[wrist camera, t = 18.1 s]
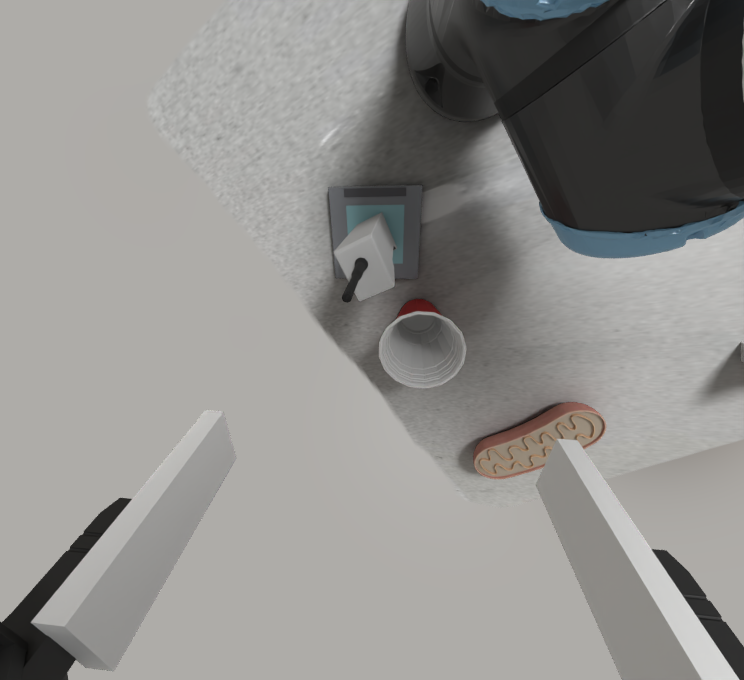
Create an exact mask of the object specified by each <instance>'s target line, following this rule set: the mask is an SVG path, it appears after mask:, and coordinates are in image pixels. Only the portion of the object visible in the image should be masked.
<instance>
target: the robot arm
mask: <svg viewBox="0 0 744 680" xmlns="http://www.w3.org/2000/svg"><path fill="white" fill-rule="evenodd" d="M406 55H407V62H408V67H409V71H410V74H411V77H412V80H413V82H414V85H415V87H416V89H417V91H418V92H419V94H420V95H421V97H422V98H423V100H424V101H425V102H426V103H427V104H428V105H429V106H430V107H431V108H432V109H433V110H434V111H436V112H437V113H439V114H440V115H442V116H444V117H446V118H449V119H452V120H455V121H462V122H471V121H478V120H482V119H486V118H489V117H491V116H493V115H495V114H497V113H499V115H500V117H501V120H502V123H503V125H504V127H505V129H506V131H507V133H508V136H509V138H510V140H511V142H512V144H513V146H514V148H515V150H516V152H517V154H518V157H519V159H520V161H521V163H522V165H523V167H524V169H525V171H526V173H527V175H528V178H529V180H530V182H531V184H532V186H533V188H534V190H535V192H536V194H537V196H538V198H539V201H540V202H539V206H540V210H541V212H542V214H543V216H544V217H545V218H546V219H547V221H548V222H549V223H551V225H552V227H553V229H554V230H555V232H556V234H557V236H558V238H559V239H560V241H561V242H562V243H563V244H564V245H565V246H566V247H568V248H569V249H571V250H572V251H574V252H576V253H579V254H582V255H586V256H590V257H597V258H631V257H639V256H646V255H652V254H656V253H661V252H665V251H669V250H673V249H676V248H680V247H683V246H684V245H685V244H686V240H688V239H694V238H697V239H706V238H708V237H710V236H712V235H715V234H717V233H719V232H721V231H723V230H725V229H727V228H729V227H730V226H732V225H734V224H735V223H737V222H738V221H740V220H741V219H742V218H744V0H410V2H409V6H408V13H407V21H406ZM235 460H236V456H235V452H234V448H233V444H232V441H231V437H230V433H229V429H228V426H227V422H226V418H225V414H224V412H222V411H210V410H205V411H204V413H203V414H202V415H201V416H200V417H199V419H198V420H197V421H196V422H195V423H194V425H193V426H192V427H191V428H190V430H189V431H188V432H187V433H186V434H185V436H184V437H183V438H182V440H180V442H179V443H178V444H177V445H176V447H175V448H174V449H173V450H172V451H171V453H170V454H169V455H168V456H167V457H166V459H165V460H164V461H163V462H162V464H161V465H160V466H159V467H158V469H157V470H156V471H155V472H154V473H153V475H152V476H151V477H150V478H149V479H148V481H147V482H146V483H145V484H144V485H143V487H142V488H141V489H140V490H139V492H138V493H137V494H136V495H135V496H134V498H133V499H127V498H119V499H118V500H117V501H115V502H114V503H113V504H111V505H110V506H109V507H108V508H106V509H105V510H103V511H102V512H101V513H100V514H99V515H98V516H97V517H96V518H95V519H94V520H93V522H92V523H91V524H90V525H89V526H88V527H87V528H86V529H85V531H84V533H83V535H80V536H79V538H78V539H77V540H76V541H75V542H74V543H73V544H72V545H71V546H70V550H68V551H66V552H65V553H64V554H63V555H62V557H61V558H60V559H59V560H58V561H57V562H56V563H55V565H54V566H53V567H52V568H51V569H50V570H49V571H48V573H47V574H46V575H45V576H44V577H43V578H42V579H41V580H40V581H39V583H38V584H37V585H36V586H35V587H34V588H33V589H32V591H31V592H30V593H29V594H28V595H27V596H26V597H25V598H24V600H23V601H22V602H21V603H20V604H19V605H18V606H17V607H16V609H15V610H14V611H13V612H12V613H11V614H10V615H9V616H8V617H7V618H6V619H5V620H4V621H3V622H2V623H1V622H0V680H68V675H67V672H68V670H69V669H70V667H71V666H72V664H73V663H74V661H75V660H77V661H78V662H79V663H81V664H82V665H83V666H84V667H85V668H92V669H100V670H107V671H114V670H115V669H116V667H117V665H118V663H119V662H120V660H121V658H122V656H123V655H124V653H125V651H126V650H127V648H128V646H129V644H130V643H131V641H132V639H133V637H134V636H135V634H136V632H137V630H138V629H139V626H140V625H141V623H142V622H143V620H144V618H145V616H146V614H147V613H148V611H149V609H150V608H151V606H152V604H153V602H154V601H155V599H156V597H157V595H158V594H159V592H160V590H161V589H162V587H163V585H164V583H165V582H166V580H167V578H168V576H169V575H170V573H171V571H172V569H173V568H174V566H175V564H176V562H177V561H178V559H179V557H180V555H181V554H182V552H183V550H184V548H185V547H186V545H187V543H188V542H189V540H190V538H191V536H192V535H193V533H194V531H195V529H196V527H197V526H198V524H199V522H200V521H201V519H202V517H203V515H204V514H205V512H206V510H207V508H208V507H209V505H210V503H211V501H212V500H213V498H214V496H215V494H216V493H217V491H218V489H219V488H220V486H221V484H222V482H223V481H224V479H225V477H226V475H227V474H228V472H229V470H230V468H231V467H232V465H233V463H234V461H235ZM536 487H537V489H538V491H539V494H540V496H541V498H542V500H543V503H544V505H545V507H546V510H547V512H548V514H549V516H550V518H551V521H552V523H553V525H554V528H555V530H556V532H557V534H558V537H559V539H560V541H561V543H562V546H563V548H564V550H565V552H566V555H567V557H568V559H569V561H570V563H571V566H572V568H573V570H574V573H575V575H576V577H577V580H578V582H579V584H580V586H581V589H582V591H583V593H584V595H585V597H586V600H587V602H588V604H589V607H590V609H591V611H592V613H593V616H594V618H595V620H596V622H597V624H598V627H599V629H600V631H601V634H602V636H603V638H604V641H605V643H606V645H607V647H608V650H609V652H610V654H611V656H612V659H613V661H614V663H615V665H616V667H617V670H618V672H619V674H620V676H621V679H622V680H744V647H743V645H742V644H741V643H740V641H739V640H738V638H737V637H736V636H735V634H734V633H733V632H732V630H731V629H730V628H729V626H728V625H727V624H726V622H723V621H722V619H721V615H720V614H719V613H718V611H717V610H716V608H715V607H714V606H713V604H712V603H711V602H710V601H708V600H707V598H706V595H705V593H704V592H703V591H702V589H701V588H700V587H699V585H698V584H697V583H696V581H695V580H694V578H693V577H692V576H691V574H690V573H689V572H688V571H687V570H686V569H685V568H684V567H683V566H682V565H681V564H680V563H679V562H678V561H677V560H676V559H675V558H674V557H672V556H671V555H670V554H669V553H668V552H667V551H665V550H654V549H651V548H650V547H649V545H648V544H647V542H646V541H645V539H644V538H643V536H642V535H641V533H640V532H639V531H638V529H637V527H636V526H635V525H634V523H633V522H632V520H631V519H630V517H629V516H628V514H627V513H626V511H625V510H624V508H623V507H622V505H621V504H620V502H619V501H618V499H617V498H616V496H615V495H614V493H613V492H612V491H611V489H610V488H609V486H608V485H607V483H606V482H605V480H604V479H603V477H602V476H601V474H600V473H599V471H598V470H597V468H596V467H595V465H594V464H593V462H592V461H591V459H590V458H589V456H588V455H587V453H586V452H585V450H584V449H583V448H582V446H581V445H580V443H579V442H578V440H568V439H557V440H556V442H555V444H554V446H553V448H552V450H551V453H550V455H549V457H548V459H547V461H546V463H545V466H544V468H543V470H542V472H541V474H540V477H539V479H538V481H537V483H536Z"/></svg>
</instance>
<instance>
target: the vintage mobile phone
mask: <svg viewBox="0 0 744 680" xmlns="http://www.w3.org/2000/svg"><path fill="white" fill-rule="evenodd" d="M396 249H397V246H396V244H395V241H394V239H393V237H392V234H391V232H390V230H389V227H388V225H387V223H386V220H385V218H384V215H383V213H382V212H381V213H379V214H377V215H375V216H373V217H371V218H369V219H367V220H365V221H363V222H361V223H359V224H357V225H356V226H355V228H354V229H353V230H352V231H351V232H350V233H349V235H348V236H347V237H346V238H345V239H344V240H343V242H342V243H341V244H340V245H339V246H338V247H337V248H336V250H335V251H334V255H335V257H336V259H337V261H338V262H339V264H340V266H341V268H342V270H343V272H344V274H345V276H346V278H347V280H348V282H349V283H348V285H347V287H346V290H345V292H344V294H343V296H342V299H343V301H344V302H350V301H351V299H352V296H353V294H354V293H355V295H356V297H357V299H358V301H359V302H360V301H363V300H365V299H367V298H370V297H372V296H374V295H377V294H379V293H382V292H384V291H386V290H389V289H391V288H393V287H394V286H395V277H394V265H393V261H392V258H393V251H394V250H396Z"/></svg>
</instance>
